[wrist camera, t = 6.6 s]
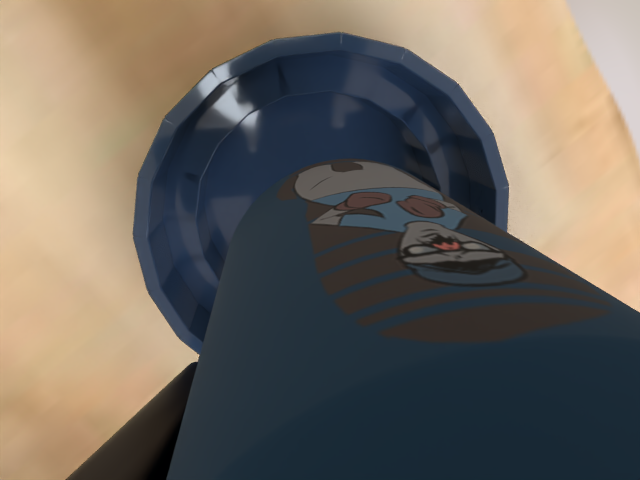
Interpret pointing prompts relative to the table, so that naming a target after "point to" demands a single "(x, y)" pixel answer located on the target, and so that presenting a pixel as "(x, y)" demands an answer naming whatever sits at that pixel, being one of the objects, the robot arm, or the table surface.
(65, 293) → the table surface
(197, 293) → the bowl
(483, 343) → the soda can
